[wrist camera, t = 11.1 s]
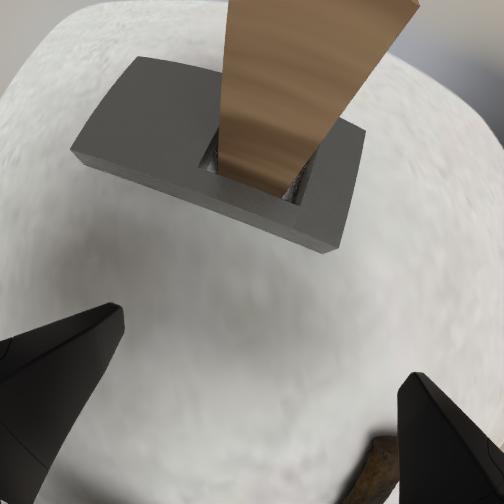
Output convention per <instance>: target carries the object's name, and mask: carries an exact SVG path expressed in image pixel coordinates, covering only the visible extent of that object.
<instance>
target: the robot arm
mask: <svg viewBox="0 0 504 504" xmlns="http://www.w3.org/2000/svg"><path fill="white" fill-rule="evenodd" d="M124 330H125V324H124V313H123V308H122V307H121V306H120V305H117V304H114V303H111V302H109V303H106V304H103V305H101V306H98V307H95V308H92V309H89V310H87V311H84V312H81V313H78V314H75V315H73V316H70V317H67V318H64V319H61V320H59V321H56V322H53V323H50V324H47V325H45V326H42V327H39V328H36V329H33V330H31V331H28V332H25V333H22V334H19V335H17V336H14V337H13V338H12V337H11V338H8V339H5V340H3V341H0V500H3V501H5V502H7V503H8V504H33V503H34V500H35V498H36V496H37V494H38V492H39V490H40V488H41V485H42V483H43V481H44V479H45V477H46V475H47V473H48V471H49V469H50V467H51V465H52V463H53V461H54V459H55V457H56V455H57V454H58V452H59V450H60V448H61V446H62V444H63V442H64V441H65V439H66V437H67V435H68V433H69V432H70V430H71V428H72V426H73V425H74V423H75V421H76V419H77V418H78V416H79V414H80V412H81V411H82V409H83V407H84V406H85V404H86V402H87V401H88V399H89V397H90V396H91V394H92V392H93V391H94V389H95V387H96V386H97V384H98V383H99V381H100V379H101V378H102V376H103V374H104V373H105V371H106V369H107V367H108V365H109V362H110V360H111V358H112V356H113V354H114V352H115V350H116V348H117V346H118V344H119V342H120V340H121V338H122V336H123V334H124ZM397 406H398V421H397V436H398V453H399V504H504V453H503V452H502V451H501V450H500V449H499V448H498V447H497V446H496V445H495V444H494V443H493V442H492V441H491V440H490V439H489V438H488V437H487V436H486V435H485V434H484V433H483V432H482V430H481V429H480V428H479V427H478V426H477V425H476V424H475V423H474V422H473V421H472V420H471V419H470V418H469V417H468V416H467V415H466V414H465V413H464V412H463V411H462V410H461V409H460V408H459V407H458V406H457V405H456V404H455V403H454V402H453V401H452V400H451V399H450V398H449V397H448V396H447V395H446V394H445V393H444V392H443V391H442V390H441V389H440V388H439V387H438V386H437V385H436V384H435V383H434V382H432V381H431V380H430V379H429V378H428V377H427V376H426V375H425V374H424V373H422V372H412V373H411V374H410V375H409V376H408V378H407V379H406V380H405V382H404V383H403V384H402V385H401V387H400V388H399V390H398V394H397ZM0 504H1V501H0Z"/></svg>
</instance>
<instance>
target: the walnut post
mask: <svg viewBox="0 0 504 504" xmlns="http://www.w3.org/2000/svg"><path fill="white" fill-rule="evenodd" d="M419 7H420V5H419V2H418V0H229V4H228V13H227V23H226V34H225V46H224V58H223V72H222V87H221V103H220V122H219V144H218V172H217V174H218V175H221V176H223V177H226V178H229V179H232V180H234V181H237V182H240V183H242V184H245V185H247V186H250V187H253V188H255V189H258V190H260V191H263V192H265V193H268V194H270V195H273V196H275V197H278V198H280V199H281V198H282V196H283V195H284V194H285V192H286V191H287V189H288V188H289V187H290V185H291V184H292V182H293V181H294V179H295V178H296V177H297V175H298V174H299V172H300V171H301V170H302V168H303V167H304V165H305V164H306V163H307V161H308V160H309V158H310V157H311V156H312V154H313V153H314V151H315V150H316V149H317V147H318V146H319V144H320V143H321V142H322V140H323V139H324V137H325V136H326V135H327V133H328V132H329V130H330V129H331V128H332V126H333V125H334V124H335V122H336V121H337V119H338V118H339V117H340V115H341V114H342V112H343V111H344V110H345V108H346V107H347V105H348V104H349V103H350V101H351V100H352V99H353V97H354V96H355V94H356V93H357V92H358V90H359V89H360V88H361V86H362V85H363V83H364V82H365V81H366V79H367V78H368V77H369V75H370V74H371V72H372V71H373V70H374V68H375V67H376V66H377V64H378V63H379V61H380V60H381V59H382V57H383V56H384V55H385V53H386V52H387V50H388V49H389V48H390V46H391V45H392V43H393V42H394V41H395V40H396V38H397V37H398V36H399V34H400V33H401V31H402V30H403V29H404V27H405V26H406V24H407V23H408V22H409V21H410V19H411V18H412V16H413V15H414V14H415V13H416V11H417V10H418V8H419Z"/></svg>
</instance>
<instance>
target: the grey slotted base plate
mask: <svg viewBox="0 0 504 504" xmlns="http://www.w3.org/2000/svg"><path fill="white" fill-rule="evenodd" d="M221 87H222V73H220V72H216V71H212V70H208V69H204V68H200V67H196V66H191V65H187V64H182V63H177V62H171V61H166V60H160V59H154V58H147V57H140V56H137V58H136V59H135V60H134V61H133V62H132V63H131V64H130V66H129V67H128V68H127V69H126V70H125V71H124V73H123V74H122V75H121V76H120V77H119V79H118V80H117V81H116V82H115V84H114V85H113V86H112V87H111V89H110V90H109V91H108V93H107V94H106V95H105V97H104V98H103V99H102V101H101V102H100V104H99V105H98V106H97V108H96V109H95V111H94V112H93V113H92V115H91V116H90V118H89V119H88V121H87V122H86V124H85V126H84V127H83V129H82V130H81V132H80V133H79V135H78V137H77V138H76V140H75V142H74V143H73V145H72V147H71V148H70V150H71V151H72V152H73V153H74V154H75V155H76V156H77V157H78V159H79V160H80V161H81V162H82V163H83V164H84V165H87V166H90V167H93V168H96V169H99V170H102V171H104V172H107V173H110V174H113V175H116V176H119V177H122V178H125V179H127V180H130V181H133V182H136V183H139V184H142V185H144V186H147V187H150V188H153V189H155V190H158V191H161V192H164V193H166V194H169V195H172V196H175V197H177V198H180V199H183V200H186V201H188V202H191V203H194V204H196V205H199V206H202V207H204V208H207V209H210V210H212V211H215V212H217V213H220V214H223V215H225V216H228V217H231V218H233V219H236V220H238V221H241V222H244V223H246V224H249V225H251V226H254V227H256V228H259V229H261V230H264V231H267V232H269V233H272V234H274V235H277V236H279V237H282V238H284V239H287V240H289V241H292V242H294V243H297V244H299V245H302V246H304V247H306V248H309V249H311V250H314V251H316V252H319V253H321V254H324V253H327V252H330V251H332V250H335V249H338V248H339V245H340V241H341V238H342V234H343V230H344V226H345V223H346V219H347V215H348V211H349V207H350V203H351V199H352V195H353V191H354V186H355V182H356V177H357V173H358V168H359V164H360V159H361V154H362V149H363V144H364V138H365V133H366V131H365V130H363V129H361V128H360V127H358V126H356V125H354V124H352V123H350V122H348V121H346V120H344V119H342V118H340V117H339V118H338V119H337V121H336V122H335V124H334V125H333V126H332V128H331V129H330V130H329V132H328V133H327V135H326V136H325V137H324V139H323V140H322V142H321V143H320V144H319V146H318V147H317V149H316V150H315V151H314V153H313V154H312V156H311V157H310V158H309V160H308V162H307V166H306V169H305V172H304V175H303V178H302V181H301V184H300V187H299V190H298V193H297V196H296V199H295V202H294V204H292V203H290V202H288V201H285V200H283V199H280V198H278V197H275V196H273V195H270V194H268V193H265V192H263V191H260V190H258V189H255V188H253V187H250V186H247V185H245V184H242V183H240V182H237V181H234V180H232V179H229V178H226V177H223V176H221V175H218V174H215V173H212V172H210V171H207V170H206V169H207V167H208V165H209V163H210V161H211V159H212V157H213V155H214V153H215V151H216V149H217V147H218V144H219V122H220V103H221Z"/></svg>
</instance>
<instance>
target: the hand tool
mask: <svg viewBox="0 0 504 504" xmlns="http://www.w3.org/2000/svg"><path fill="white" fill-rule="evenodd" d="M373 446H374V449H373V450H371V451H370V452H369V453H367V454H366V457H367V463H366V466H365V467H364V469H363V471H362V473H361V474H360V476H359V478H358V480H357V482H356V483H355V485H354V487H353V488H352V490H351V492H350V493H349V495H348V496H347V497H346V499H345V500H343V501H342V504H383V503H384V502H385V501H386V499H387V498H388V497H389V495H390V494H391V492H392V490H393V489H394V488H395V486H396V484H397V483H398V481H399V453H398V437H397V436H394V437H392V436H380V437H376V438H375V439H373Z"/></svg>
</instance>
